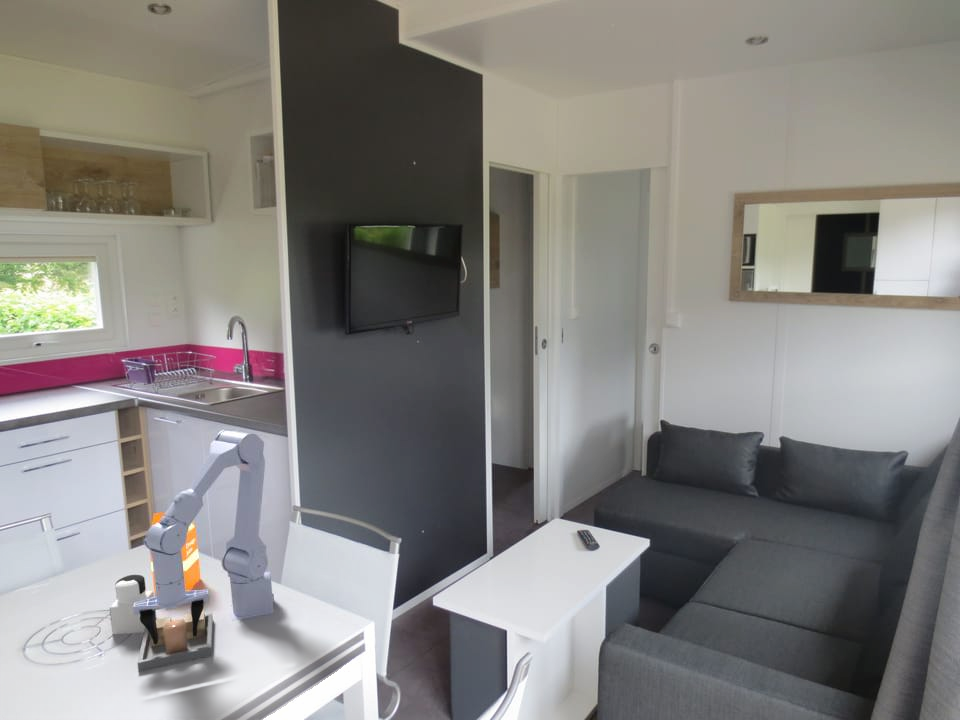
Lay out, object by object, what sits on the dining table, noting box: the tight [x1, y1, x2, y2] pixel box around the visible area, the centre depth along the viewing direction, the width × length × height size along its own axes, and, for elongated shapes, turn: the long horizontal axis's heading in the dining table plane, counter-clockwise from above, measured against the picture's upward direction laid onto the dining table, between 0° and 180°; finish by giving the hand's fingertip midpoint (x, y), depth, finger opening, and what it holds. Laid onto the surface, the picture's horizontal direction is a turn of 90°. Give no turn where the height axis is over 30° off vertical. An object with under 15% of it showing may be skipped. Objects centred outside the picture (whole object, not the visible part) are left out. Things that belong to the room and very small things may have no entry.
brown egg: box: [163, 619, 188, 655], centre depth 146 cm, size 4×4×6 cm
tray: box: [137, 613, 214, 672], centre depth 148 cm, size 14×15×2 cm
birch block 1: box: [150, 616, 172, 647], centre depth 150 cm, size 4×4×4 cm
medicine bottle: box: [109, 574, 157, 635], centre depth 156 cm, size 7×7×12 cm
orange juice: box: [149, 512, 202, 594], centre depth 175 cm, size 8×9×20 cm
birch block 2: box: [184, 610, 206, 639], centre depth 153 cm, size 4×4×4 cm
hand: (175, 637), depth 146 cm, fingers open, 7 cm apart
